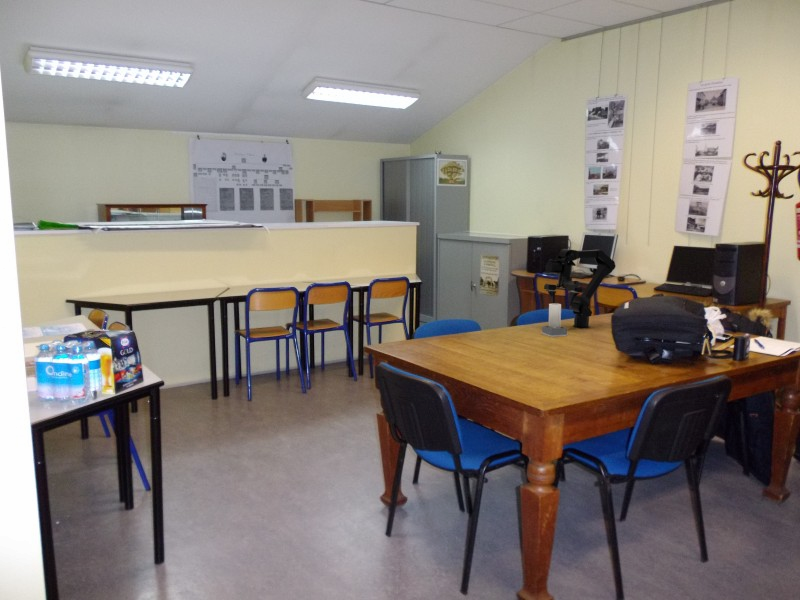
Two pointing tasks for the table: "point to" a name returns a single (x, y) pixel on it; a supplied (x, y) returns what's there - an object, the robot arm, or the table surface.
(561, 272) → the robot arm
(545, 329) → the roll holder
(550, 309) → the paper towel roll
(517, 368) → the table surface
